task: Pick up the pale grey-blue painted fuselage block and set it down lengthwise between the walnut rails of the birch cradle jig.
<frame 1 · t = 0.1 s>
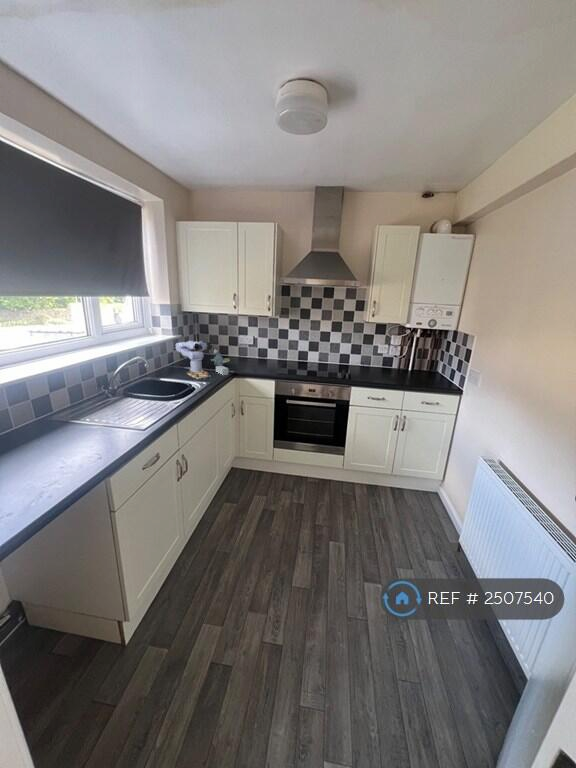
hand: (206, 347, 220), 22 cm above the worktop, tool horizontal, fingers open, 7 cm apart
fuselage block: (222, 373, 235), on the worktop
cradle jig: (199, 375, 225), on the worktop
toy figure: (218, 366, 258), on the worktop
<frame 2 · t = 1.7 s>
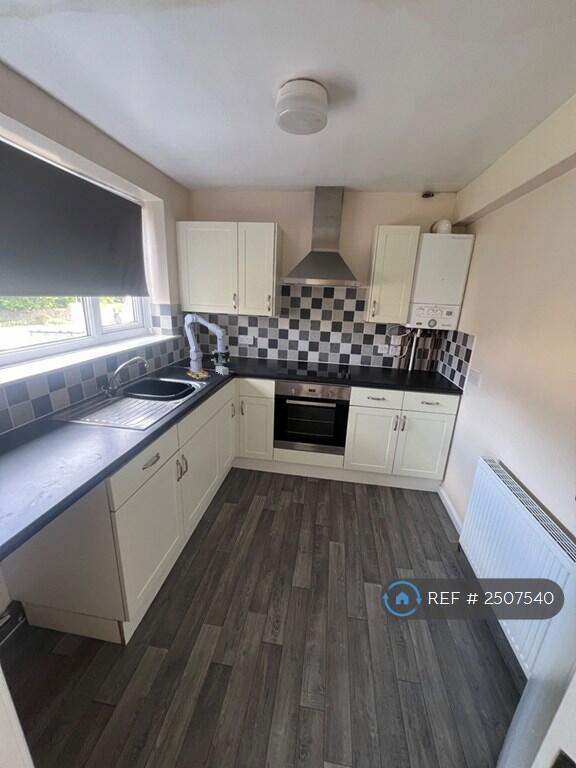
hand: (221, 362, 233), 9 cm above the worktop, tool pointing down, fingers open, 7 cm apart
nothing on the worktop moved.
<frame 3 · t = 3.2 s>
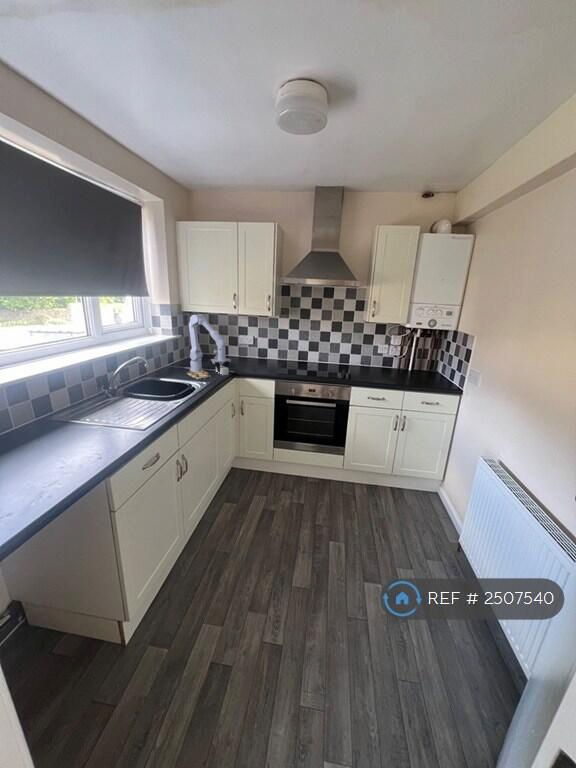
hand: (222, 371, 235), 1 cm above the worktop, tool pointing down, fingers closed on fuselage block, 5 cm apart
fuselage block: (222, 373, 235), on the worktop, touching gripper
everything else where it was.
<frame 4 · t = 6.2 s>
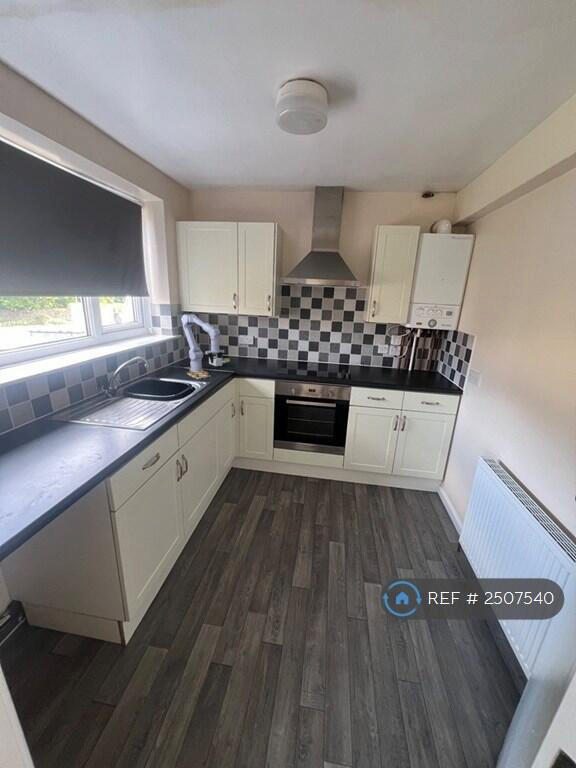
hand: (215, 362, 230), 9 cm above the worktop, tool pointing down, fingers closed on fuselage block, 5 cm apart
fuselage block: (215, 364, 230), point 7 cm above the worktop, touching gripper
everything else where it was.
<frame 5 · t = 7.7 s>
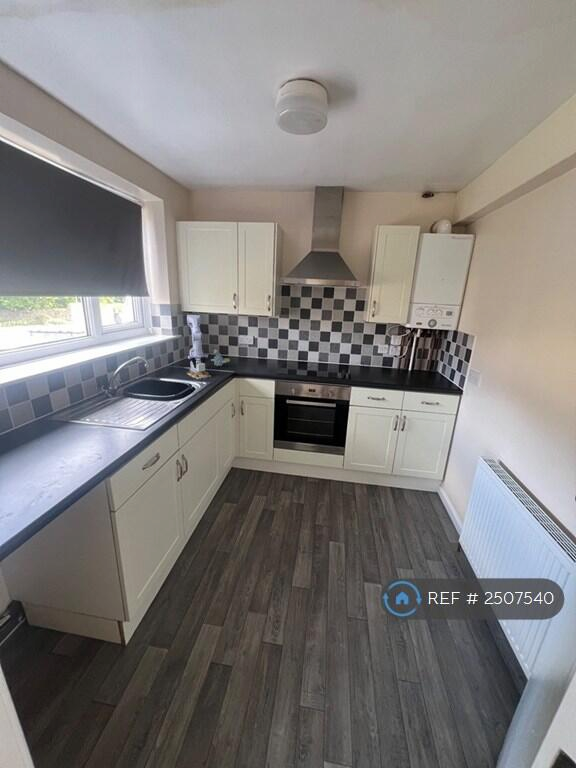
hand: (198, 367, 224), 6 cm above the worktop, tool pointing down, fingers closed on fuselage block, 5 cm apart
fuselage block: (198, 369, 224), point 5 cm above the worktop, touching gripper
everything else where it was.
when the fingers open (4 cm above the worktop, at t = 9.0 s): fuselage block drops 1 cm, resting on cradle jig.
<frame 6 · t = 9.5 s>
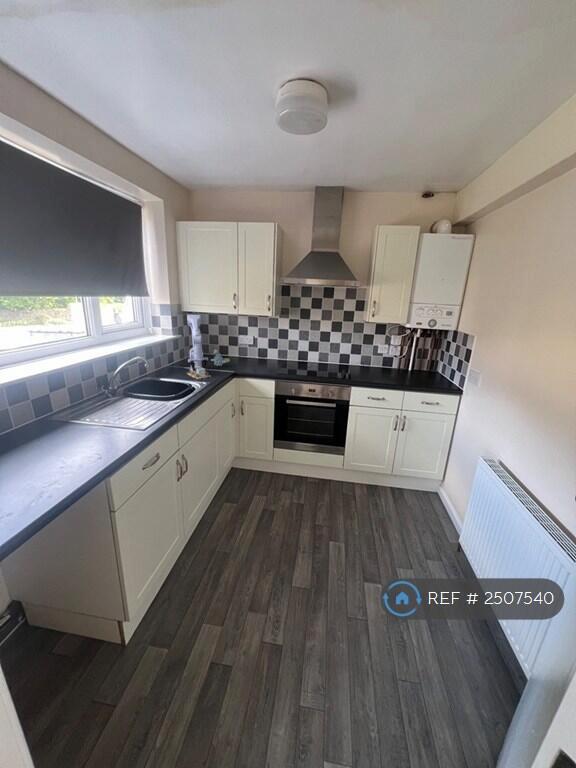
hand: (198, 370, 224), 4 cm above the worktop, tool pointing down, fingers open, 7 cm apart
fuselage block: (198, 374, 225), point 1 cm above the worktop, touching cradle jig
everything else where it was.
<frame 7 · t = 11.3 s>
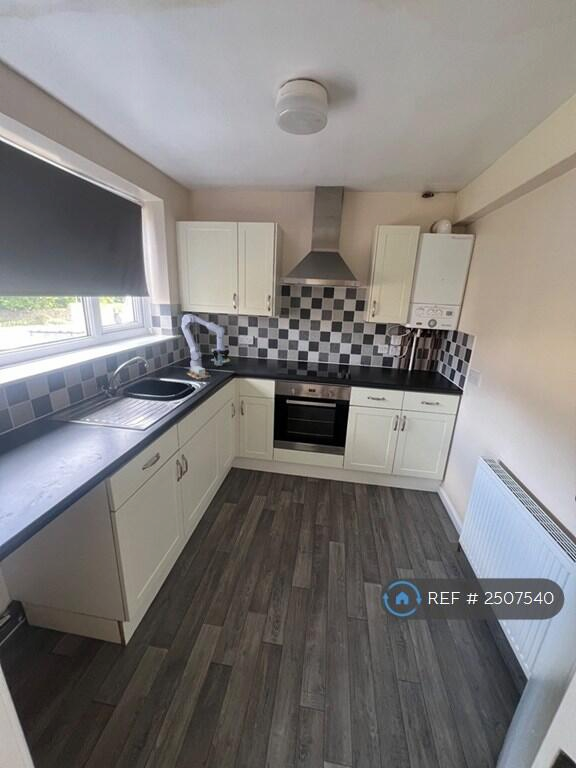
hand: (221, 360, 237), 9 cm above the worktop, tool pointing down, fingers open, 7 cm apart
nothing on the worktop moved.
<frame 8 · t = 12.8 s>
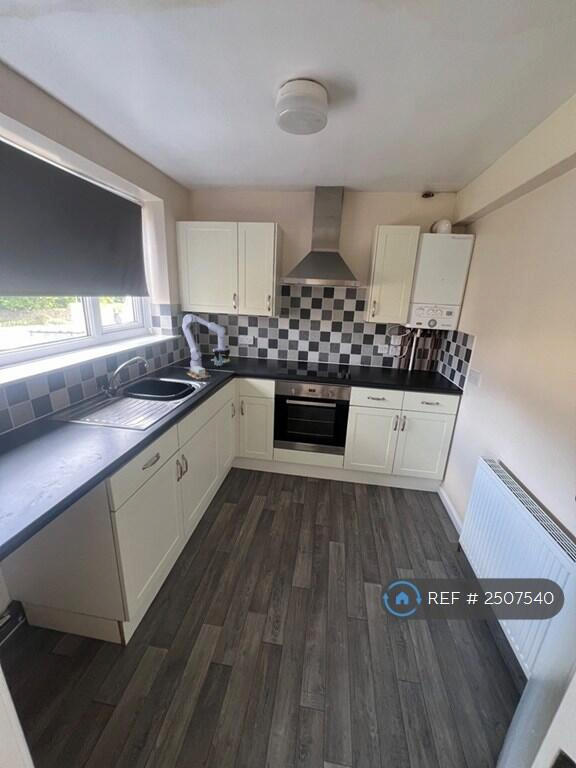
hand: (222, 359, 238), 9 cm above the worktop, tool pointing down, fingers open, 7 cm apart
nothing on the worktop moved.
at the end: fuselage block 0.1 cm off-centre on the cradle jig, point 1.0 cm above the cradle jig's base; fuselage block tilted 0°; the gripper is holding nothing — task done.
